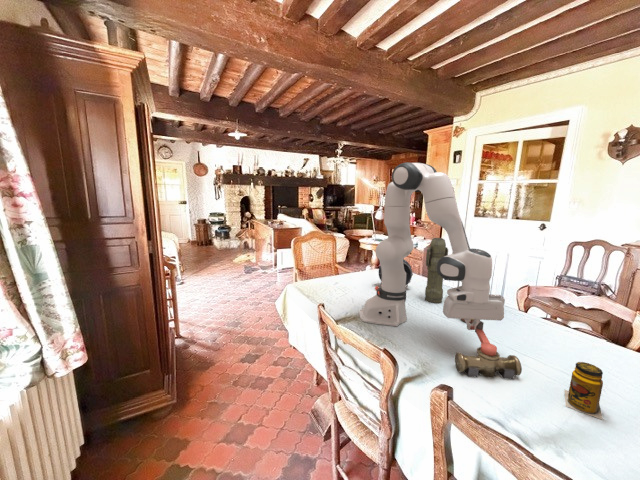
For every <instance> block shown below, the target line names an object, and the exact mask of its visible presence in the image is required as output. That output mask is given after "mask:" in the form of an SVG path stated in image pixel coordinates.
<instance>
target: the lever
mask: <svg viewBox="0 0 640 480" xmlns="http://www.w3.org/2000/svg"><path fill="white" fill-rule="evenodd" d="M484 324H485V323H484V322H483V320H480V323H479V324H478V325H477V326H476V330H474V333H476V336H477V338H478V339H479V342H480V347H481V352H482V353H484V354H486V355H490V356H495V355H496V353H497V352H498V347H497V346H496V345H495V344H492V343H491V342H490V340H489V338H488V337H487V334H486V333H485V331H484Z"/></svg>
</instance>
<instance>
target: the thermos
mask: <svg viewBox="0 0 640 480" xmlns="http://www.w3.org/2000/svg"><path fill="white" fill-rule="evenodd" d="M429 243H430V245H429V246H428V247H427V249H426V255H425V256H426V257H425V266H426V267H427V279H426V287H425V290H424V292H425V293H424V296H425V297H424V301H425V302H427V303H430V304H435V305H438V304H439V305H440V304H442V303H443V296H444V289H443V286H444V285H443V283H444V279H443V278H442V277H441V276H440V275H439V274H438V272H437V262H438V260H439V259H440V258H442V257H444V256H447V255H449V248H448V247H447V245H446V240H445V238H444V237H443V238H442V237H433V238H431V242H429Z"/></svg>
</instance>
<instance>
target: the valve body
mask: <svg viewBox="0 0 640 480" xmlns="http://www.w3.org/2000/svg"><path fill="white" fill-rule="evenodd" d="M476 354H477V355H468V354H467V355H465V354H463V353H462V352H460V351H459V352H458V351H457V352H455V355H454V363H455V368H456V369H457V372H458V373H464V374H466V376H467V377H468V378H478V377H479V375H481V376H482V377H486V378H491V379H492V378H495V377H497V376H496V375H497V373H498V374H499V375H500V377H502V378H503V380H514V379H515V376H520V375H521V374H522V370H523V368H522V364H521V361H520V359H519V358H518V357H517V356H516V355H514V354H513V355H512V354H510V355H507V357H505V356H504V357H501V355H500V353H499V352H498V351H497V353H496V355H495V356H490V355H486V354H484V353H482V352H481V346H480V347H478V348H477V349H476Z"/></svg>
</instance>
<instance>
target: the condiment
mask: <svg viewBox="0 0 640 480" xmlns="http://www.w3.org/2000/svg"><path fill="white" fill-rule="evenodd" d="M603 374H604V372H603V370H602V369H601V368H600V367H598V366H596V365H595V364H591V363H588V362H583V361H578V362H576V363H575V367H574V370H573V371H572V372H571V378H570V384H569V388H568V390H567V389H564V402H565V404H564V405H565V407H568V408H569V409H570V408H571V409H572V410H575V411H577V412H580V413H583V414H585V415H589V416H591V417H595V418H597V419H599V420H602V421H603V420H604V418H603V413H602V410H601V406H600V400H601V395H602V390H603V385H604V381H603Z"/></svg>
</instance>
